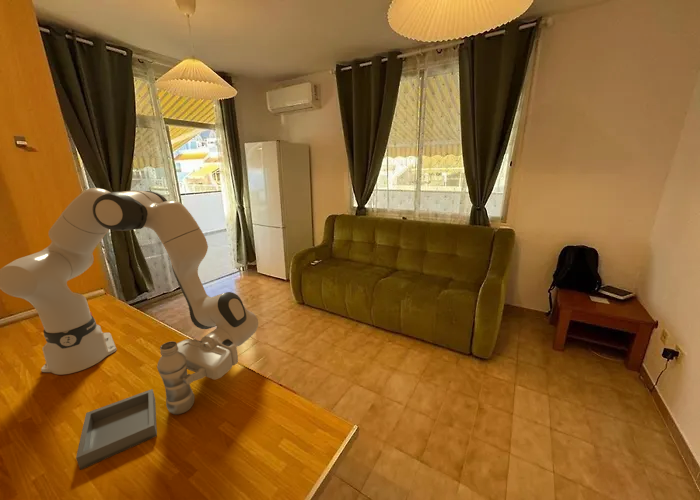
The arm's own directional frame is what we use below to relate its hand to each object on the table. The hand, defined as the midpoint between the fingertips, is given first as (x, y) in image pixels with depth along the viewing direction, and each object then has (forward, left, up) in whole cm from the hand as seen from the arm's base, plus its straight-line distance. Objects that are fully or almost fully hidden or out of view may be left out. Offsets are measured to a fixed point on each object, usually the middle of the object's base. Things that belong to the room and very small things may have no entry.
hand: (172, 376), depth 74 cm
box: (-1, -12, -11) cm, 17 cm away
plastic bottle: (0, +1, -11) cm, 11 cm away
